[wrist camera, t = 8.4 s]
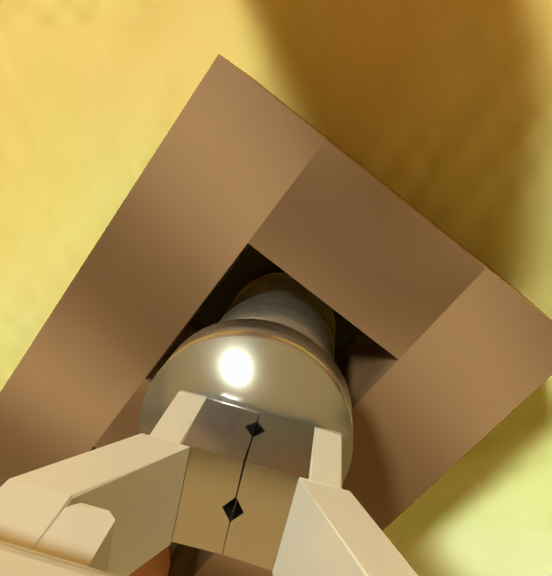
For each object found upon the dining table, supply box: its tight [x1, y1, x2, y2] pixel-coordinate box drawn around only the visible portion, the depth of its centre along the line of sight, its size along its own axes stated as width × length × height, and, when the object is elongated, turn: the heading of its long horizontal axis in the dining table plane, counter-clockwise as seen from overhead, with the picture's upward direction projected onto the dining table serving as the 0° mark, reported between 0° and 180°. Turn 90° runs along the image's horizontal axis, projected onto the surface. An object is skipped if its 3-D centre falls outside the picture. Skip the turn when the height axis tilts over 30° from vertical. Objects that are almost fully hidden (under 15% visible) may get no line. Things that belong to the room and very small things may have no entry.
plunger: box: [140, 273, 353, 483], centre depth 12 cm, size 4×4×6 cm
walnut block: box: [0, 54, 552, 576], centre depth 16 cm, size 24×10×4 cm, turn 143°
